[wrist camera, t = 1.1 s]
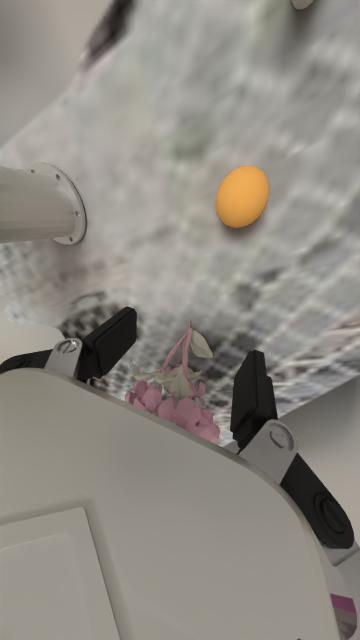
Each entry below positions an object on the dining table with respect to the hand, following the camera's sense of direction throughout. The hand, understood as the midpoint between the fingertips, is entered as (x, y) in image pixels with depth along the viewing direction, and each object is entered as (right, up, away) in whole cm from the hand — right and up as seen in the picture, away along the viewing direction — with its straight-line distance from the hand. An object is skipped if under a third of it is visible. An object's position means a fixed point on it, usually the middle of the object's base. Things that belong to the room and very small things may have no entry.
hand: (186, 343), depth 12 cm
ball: (+7, +16, +8) cm, 20 cm away
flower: (+2, -8, +30) cm, 31 cm away
